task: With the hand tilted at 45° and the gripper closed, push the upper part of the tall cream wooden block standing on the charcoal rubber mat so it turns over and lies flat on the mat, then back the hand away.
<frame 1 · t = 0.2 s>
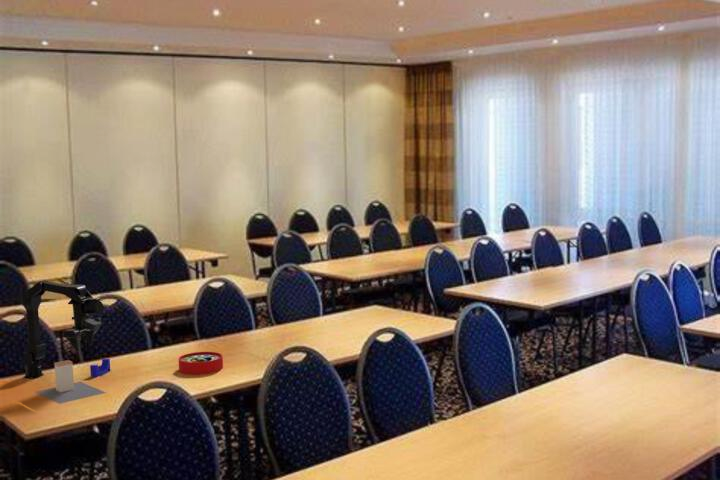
hand: (83, 348, 359), 14 cm above the table, tool pointing down, fingers open, 9 cm apart
cream block: (65, 389, 345), point 1 cm above the table, touching rubber mat
rubber mat: (70, 393, 341), on the table
cable clip: (99, 375, 370), on the table
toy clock: (201, 369, 376), on the table
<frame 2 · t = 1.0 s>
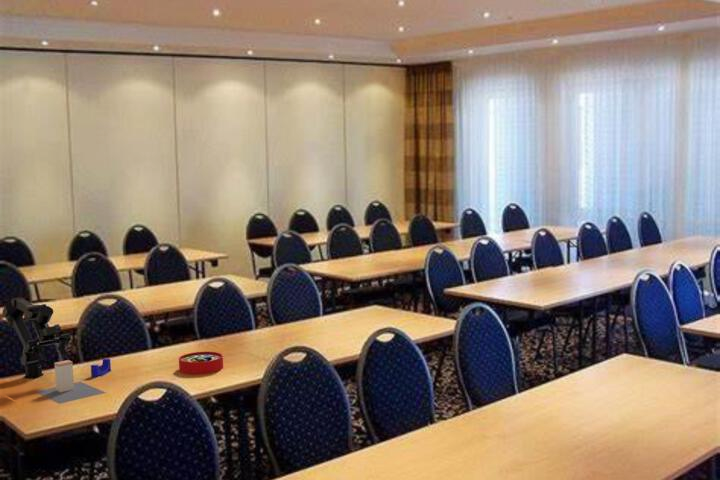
hand: (55, 359, 351), 12 cm above the table, tool tilted 45°, fingers open, 8 cm apart
nothing on the table moved.
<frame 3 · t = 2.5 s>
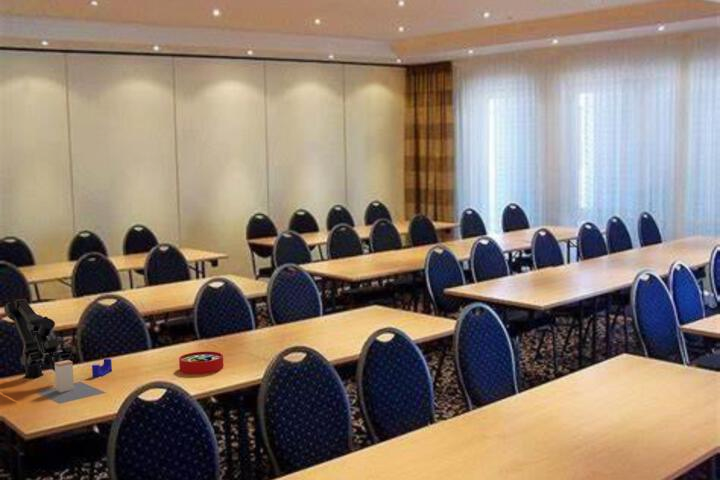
hand: (57, 371, 350), 7 cm above the table, tool tilted 45°, fingers closed
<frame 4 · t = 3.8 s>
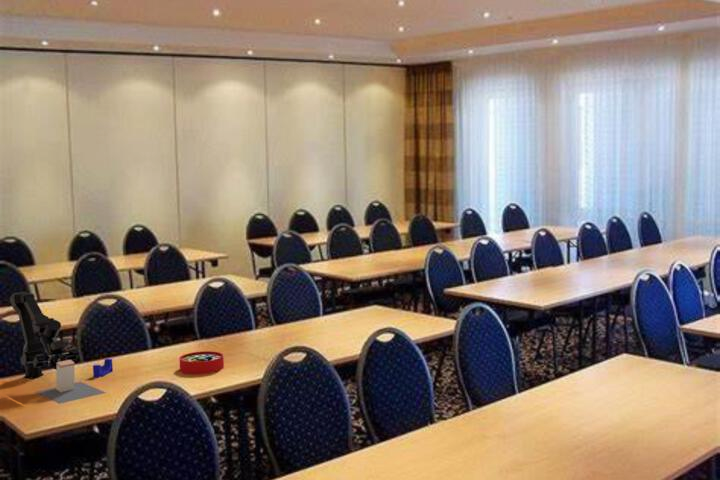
hand: (63, 373, 345), 7 cm above the table, tool tilted 45°, fingers closed
cream block: (65, 389, 345), point 1 cm above the table, tilted 10°, touching rubber mat
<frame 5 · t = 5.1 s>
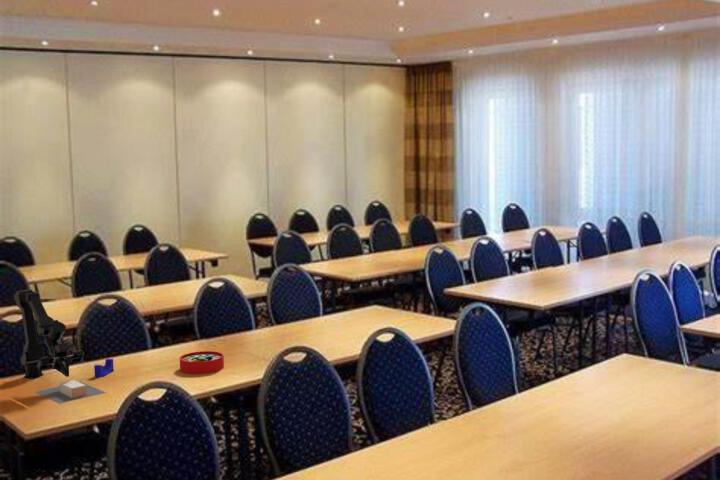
hand: (67, 376, 342), 7 cm above the table, tool tilted 45°, fingers closed
cream block: (67, 386, 343), point 3 cm above the table, tilted 90°, touching rubber mat
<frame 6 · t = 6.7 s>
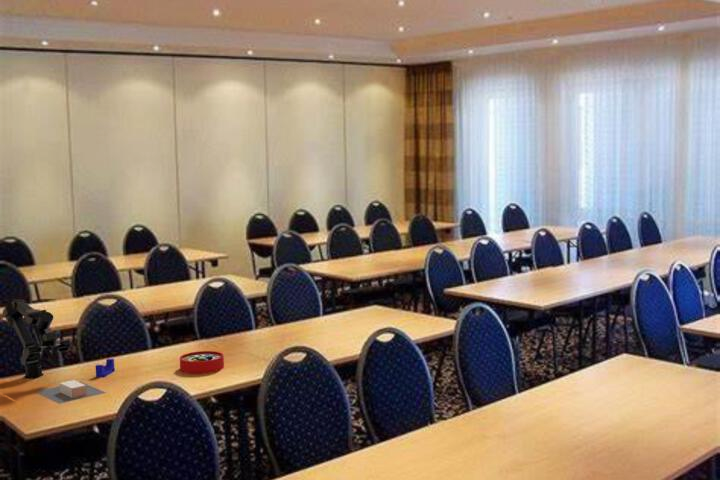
hand: (55, 364, 351), 10 cm above the table, tool tilted 45°, fingers closed
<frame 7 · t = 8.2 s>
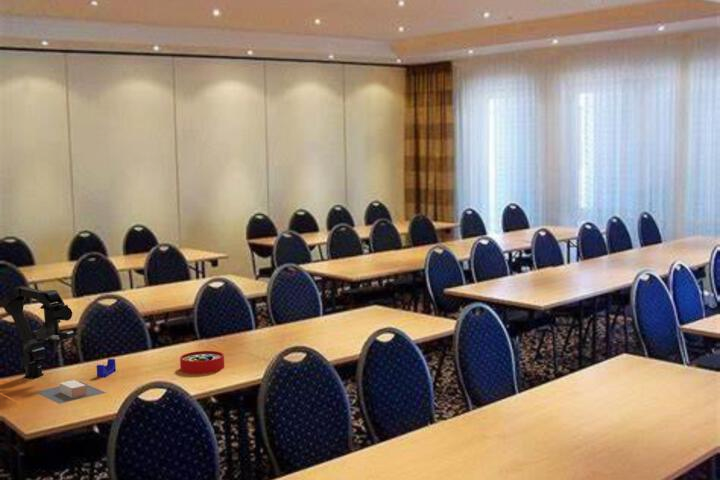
hand: (53, 353, 361), 12 cm above the table, tool pointing down, fingers closed
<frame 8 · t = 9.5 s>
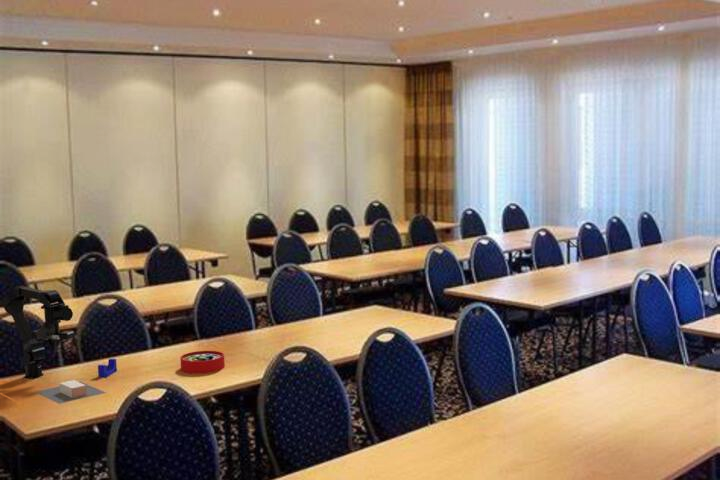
hand: (54, 353, 361), 12 cm above the table, tool pointing down, fingers closed
at the end: cream block tilted 90°; cream block inside the target area on the rubber mat (2.9 cm from its centre), point 2.6 cm above the rubber mat's base; cream block touching rubber mat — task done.
